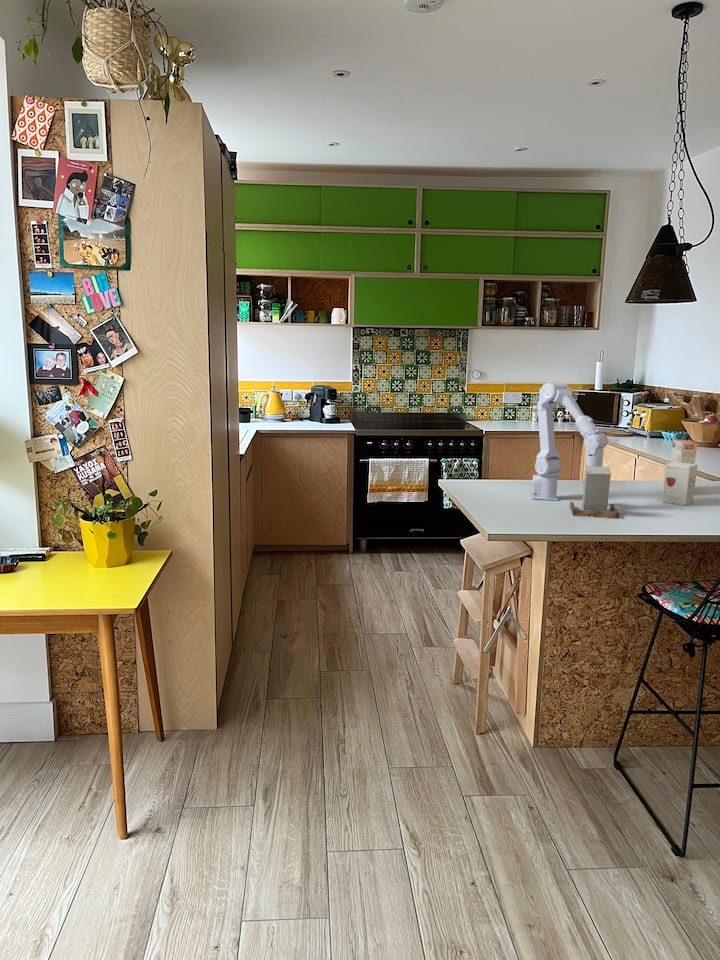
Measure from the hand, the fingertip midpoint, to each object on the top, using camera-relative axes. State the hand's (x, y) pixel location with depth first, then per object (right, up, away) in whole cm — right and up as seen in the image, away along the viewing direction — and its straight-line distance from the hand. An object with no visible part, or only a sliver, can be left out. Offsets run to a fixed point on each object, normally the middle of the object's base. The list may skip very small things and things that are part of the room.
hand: (591, 503), depth 259 cm
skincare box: (-1, -2, -7) cm, 7 cm away
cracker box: (+48, +4, +34) cm, 59 cm away
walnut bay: (-2, -3, -8) cm, 9 cm away
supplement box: (+37, 0, +12) cm, 39 cm away
